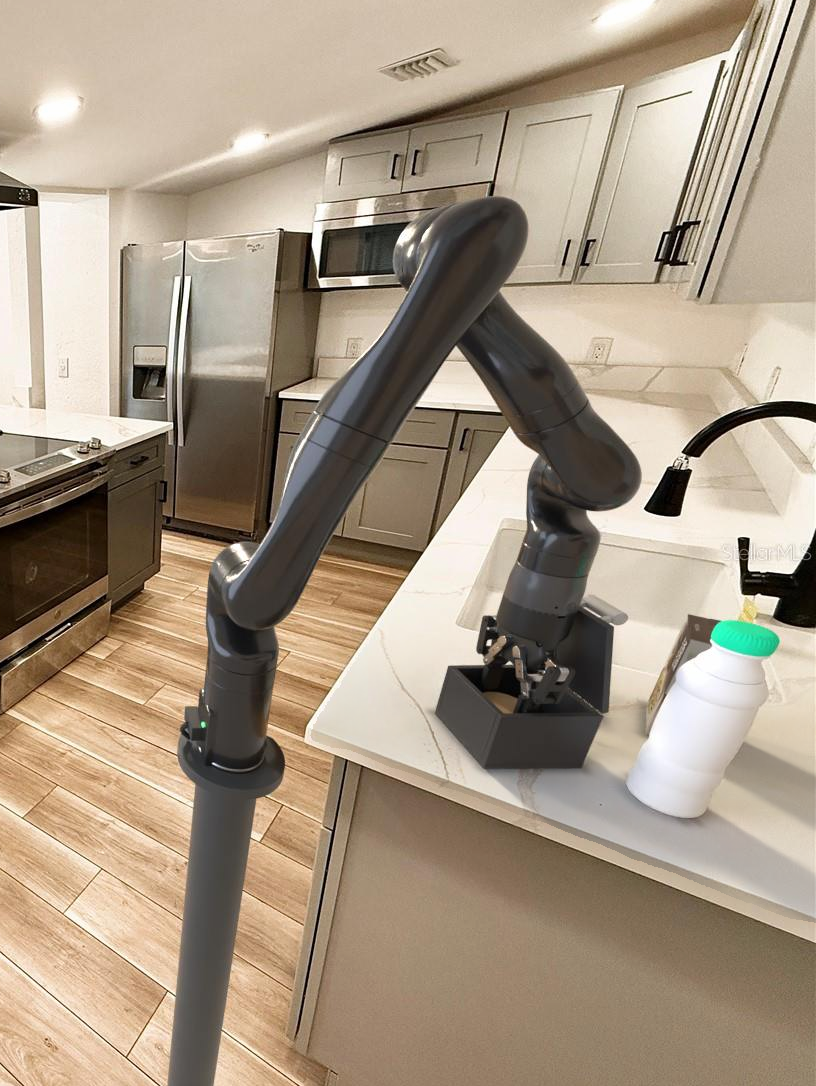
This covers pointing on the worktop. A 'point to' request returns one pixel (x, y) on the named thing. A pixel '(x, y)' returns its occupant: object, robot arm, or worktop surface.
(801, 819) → the worktop surface
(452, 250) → the robot arm
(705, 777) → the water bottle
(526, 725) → the hinged dark box
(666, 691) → the coffee box
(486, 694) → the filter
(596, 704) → the lid
